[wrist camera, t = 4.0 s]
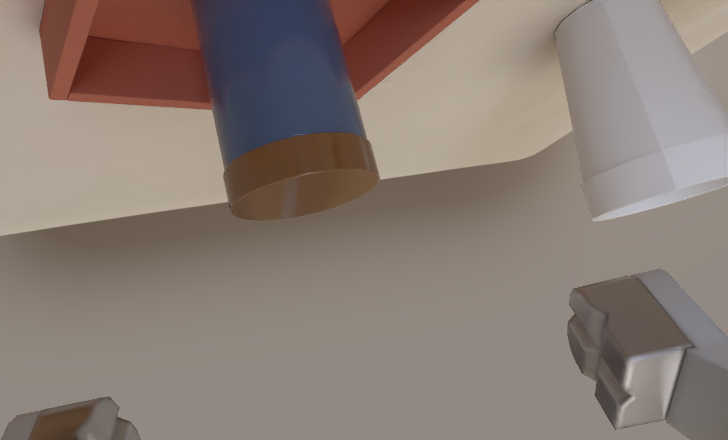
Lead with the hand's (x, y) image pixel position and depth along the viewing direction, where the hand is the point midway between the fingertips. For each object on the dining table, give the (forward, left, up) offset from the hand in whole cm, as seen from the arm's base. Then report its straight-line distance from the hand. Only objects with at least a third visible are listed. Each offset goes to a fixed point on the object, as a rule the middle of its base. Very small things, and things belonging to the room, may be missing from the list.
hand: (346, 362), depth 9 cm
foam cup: (+30, -5, -17) cm, 35 cm away
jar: (+6, -9, -16) cm, 20 cm away
